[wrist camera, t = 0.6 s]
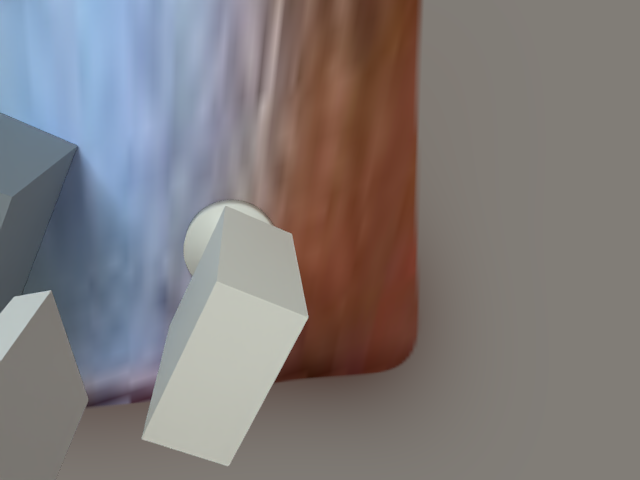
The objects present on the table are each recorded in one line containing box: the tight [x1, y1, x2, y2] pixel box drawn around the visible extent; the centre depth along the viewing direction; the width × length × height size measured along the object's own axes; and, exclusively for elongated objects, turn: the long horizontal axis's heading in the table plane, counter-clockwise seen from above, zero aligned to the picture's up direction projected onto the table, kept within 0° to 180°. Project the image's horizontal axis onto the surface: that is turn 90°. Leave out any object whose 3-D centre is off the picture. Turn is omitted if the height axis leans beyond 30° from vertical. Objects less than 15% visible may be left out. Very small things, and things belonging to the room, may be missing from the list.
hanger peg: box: [141, 200, 308, 466], centre depth 33 cm, size 6×8×16 cm
